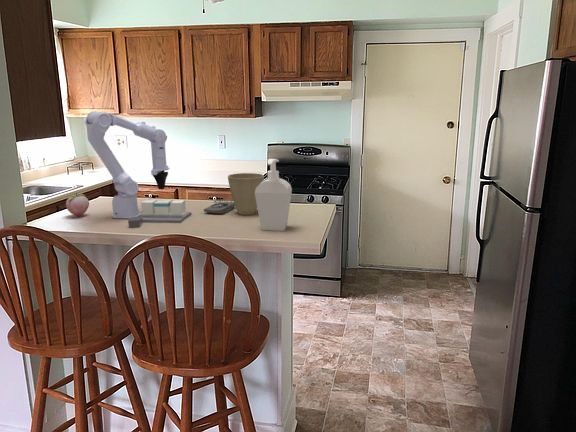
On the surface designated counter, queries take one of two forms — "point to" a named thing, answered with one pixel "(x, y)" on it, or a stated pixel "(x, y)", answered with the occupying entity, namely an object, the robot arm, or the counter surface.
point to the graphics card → (221, 207)
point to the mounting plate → (175, 217)
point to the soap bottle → (273, 200)
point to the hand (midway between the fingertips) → (161, 189)
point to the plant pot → (244, 191)
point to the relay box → (135, 222)
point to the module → (162, 207)
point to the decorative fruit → (77, 204)
